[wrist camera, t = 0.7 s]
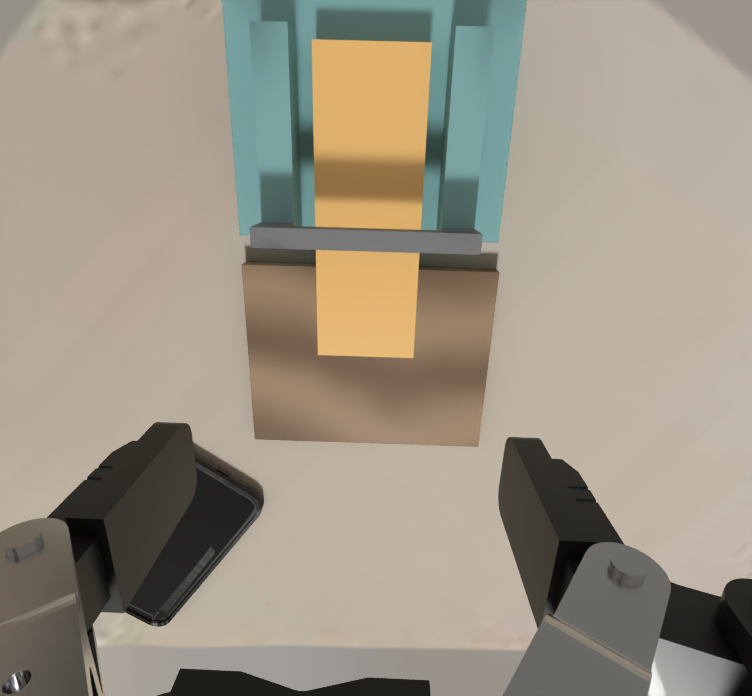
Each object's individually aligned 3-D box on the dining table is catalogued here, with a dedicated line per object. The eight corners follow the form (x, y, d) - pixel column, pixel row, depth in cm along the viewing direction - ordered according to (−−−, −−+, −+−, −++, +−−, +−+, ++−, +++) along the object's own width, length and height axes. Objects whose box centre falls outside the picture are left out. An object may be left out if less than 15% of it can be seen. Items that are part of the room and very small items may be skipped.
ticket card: (316, 46, 19) (311, 39, 18) (429, 50, 19) (431, 42, 18) (321, 346, 24) (317, 355, 22) (412, 349, 24) (413, 358, 22)
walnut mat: (245, 261, 26) (241, 264, 25) (496, 269, 26) (499, 272, 25) (258, 432, 30) (254, 439, 29) (475, 439, 30) (477, 446, 29)
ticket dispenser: (248, 6, 22) (182, -73, 15) (504, 13, 22) (562, -64, 15) (261, 225, 25) (213, 247, 18) (481, 232, 25) (518, 256, 18)
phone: (67, 582, 34) (165, 443, 30) (77, 570, 35) (173, 434, 31) (162, 631, 36) (269, 506, 31) (169, 618, 37) (273, 495, 32)
